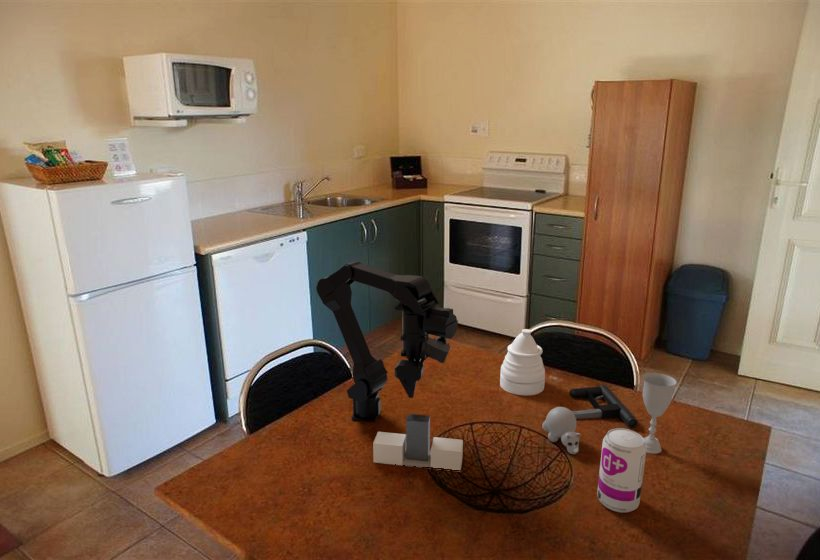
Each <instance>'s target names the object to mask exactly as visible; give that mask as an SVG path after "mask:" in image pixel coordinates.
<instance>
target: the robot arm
mask: <svg viewBox="0 0 820 560" xmlns="http://www.w3.org/2000/svg"><path fill="white" fill-rule="evenodd" d="M355 282H356V283H359V284H363V285H366V286H368V287H371V288H374V289H377V290H380V291H383V292H385V293H388V294H389V295H391V296H392V297H393V299H394V300H396V301H397V302H399V303H398V304H397V305H395V306H394V307H393V308H394V310H395V311H398V312H401V313H402V314H401V316H402V317H401V318H402V323H401V324H402V325H401V326H402V332H401V333H402V334H401V335H400V341H402V349H401V351H400V357H404V358H406V359H400V360H399V361H398V362H396V365H395V367H394V377H395V378H396V379H398V380H399V382H400V383H401V385H402V387H403V390H404V391H405V394H406V395H407V397H408V398H409V399H414V396H415V391H416V386H417V382H419V381H420V380H422V378H423V375H424V363H425V361H426V360H427V359H428V358H430V359H432V360H435V361H437V362H438V363H440V364H445V362H446V360H447V357H448V354H449V353H450V348H451V345H450V343H448V339H449V340H450V339H453V338H454V336H455V335H456V333H457V330H458V324H459V321H458V318H457V316H456V314H454V309H453V308H449V307H446V308H445V307H440V304H441V303H440V301H439V300H438V298H437V297H436V294H435V293H434V292H433V290H432V288H431V285H430V283H429V281H428V279H427V278H426V277H424V276H422V275H414V274H413V275H412V274H405V275H402V274H395V273H392V272H389V271H386V270H382V269H379V268H377V267H373V266H370V265H367V264H364V263H362V262H360V261H356V260H355V261H352V262H350V263H349V262H348V263H346V264H344V265H343V266H342V267H341V268H339V269H338V270H337V271H335V272H334V273H332V274H331V275H328V276H326V277H322V278H320V279H319V280H318V281H317V285H316V286H315V287H316V293H317V294H318V297H319V298H320V300H321V301H322V304H323V305H324V306H325V307H326V308H328V309H329V310H330V311H332V313H333V316H334V319H335V320H336V323H337V325H338V328H339V330H340V333H341V335H342V338H343V340H344V342H345V345H346V348H347V350H348V353H349V356H350V357H351V360H352V362H353V365H352V368H353V369H352V379H353V382H354V384H352V385H351V386H350V387H349V388H348V389H346V393H347V397H348V398H349V399H351V400H352V415H351V418H350V419H351V420H353V421H363V422H372V423H373V422H376V420H377V418H378V417H379V416H380V414H381V412H382V411H381V410H382V408H381V406H382V405H381V400H382V399H381V397H379V392H380V391H382V390H383V389H384V386H386V385H387V381H389V380H388V373H389V371H388V370H387V369H386V367H385V365H384V364H385V363H384V361H383V360H382V359H377V358H375V357H374V356H373V355H372V354H371V352H370V349H369V346H368V344H367V341H366V339H365V336H364V334H363V331H362V328H361V327H360V324H359V321H358V319H357V317H356V314H355V312H354V309H353V307H352V296H353V292H352V287H351V285H353V284H354V283H355ZM424 300H426V301H424ZM422 301H424V302H422ZM420 302H422V303H421V304H420ZM430 335H433V336H436V337H433V338H432V337H430Z"/></svg>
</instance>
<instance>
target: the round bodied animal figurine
mask: <svg viewBox="0 0 820 560" xmlns="http://www.w3.org/2000/svg"><path fill="white" fill-rule="evenodd" d="M572 411H573V410H570V409H569V408H567V407H564V406H556V407H554V408H552V409H551V410H550V411H549V412H548V413H547V414H546V418H545V420H544V421H543V422H542V430H543V431H545V432H548V434H547V440H548V441H550V442H551V443H556V442H558V441H559V439H560V441H561V443H562V445H563V446H565V447H566V451H567V453H568V454H571V455H576V454H578V453H579V450H580V436H581V433H580V432H576V428H577V423H578V422H577V419H576V417H575V415H574V414H573V413H572Z"/></svg>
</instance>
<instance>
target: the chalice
mask: <svg viewBox="0 0 820 560" xmlns="http://www.w3.org/2000/svg"><path fill="white" fill-rule="evenodd" d="M642 380H643V389H642V395H641V396H642V399H643V403H644V406H645V409H646V410H647V413H648V414H649V415H650V416H651V420H650V421H649V424H650V427H649V428H648V431H649V435H646V436H645V437H643V439H644V443H645V445H646V448H647V450H646V453H647V454H655V455H656V454H660V453H662V447H661V444H660V441H659V439H658V438H656V436H655V433H656V432H657V431H658V430H657V429H656V426H657V424H658V422H657V417H661V416H662V415H664V413H665V412H666V410H667V409H668V407H669V406H670V404H671V402H672V400H673V399H672V398H673V393H674V392H673V391H674V387H675V385H676V384H677V383H678V382H677V380H676V379H675V378H674V377H672V376H670V375H667V374H664V373H658V372H647V373H645V374H644V373H643V375H642Z"/></svg>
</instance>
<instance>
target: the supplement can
mask: <svg viewBox="0 0 820 560" xmlns="http://www.w3.org/2000/svg"><path fill="white" fill-rule="evenodd" d="M643 438H644V437H643V436H642V435H641V434H640V433H637V431H634V430H632V429H628V428H623V427H621V428H620V427H619V428H618V427H617V428H611V429H609V430H608V431H607V433H606V434H605V436H604V438H603V439H602V446H601V453H600V454H601V455H600V456H601V457H600V463H599V472H598V483H597V492H596V495H597V499H598V500H599V502H600V504H602V505H603V506H604V507H605V508H607V509H609V510H610V511H613V512H616V513H631V512H632V511H635V510H636V509H638V508H639V505H640V501H641V494H642V487H643V478H644V471H645V464H646V457H647V452H646V450H647V448H646V445H645V443H644V439H643Z"/></svg>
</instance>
